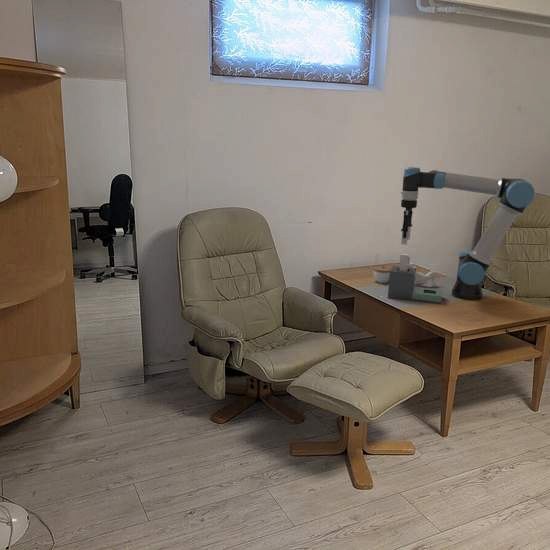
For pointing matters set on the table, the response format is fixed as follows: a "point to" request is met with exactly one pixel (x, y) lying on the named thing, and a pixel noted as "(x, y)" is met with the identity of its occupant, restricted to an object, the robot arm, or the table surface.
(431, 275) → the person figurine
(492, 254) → the robot arm
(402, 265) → the plug
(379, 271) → the lidded jar
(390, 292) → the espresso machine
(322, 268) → the table surface
